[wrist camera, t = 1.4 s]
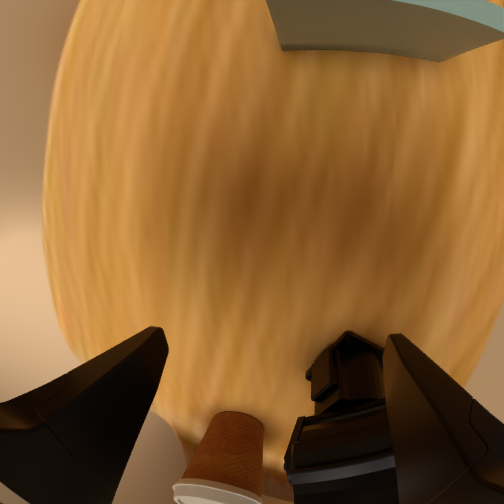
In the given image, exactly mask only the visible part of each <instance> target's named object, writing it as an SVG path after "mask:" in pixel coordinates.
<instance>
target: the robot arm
mask: <svg viewBox="0 0 504 504" xmlns="http://www.w3.org/2000/svg"><path fill="white" fill-rule="evenodd" d="M347 337H350V338H349V339H346V338H347ZM168 352H169V347H168V343H167V340H166V337H165V334H164V331H163V329H162V328H161V327H154V326H150V327H148V328H146V329H144V330H143V331H141V332H139V333H137V334H136V335H134V336H132V337H130V338H128V339H127V340H125V341H123V342H121V343H120V344H118V345H116V346H114V347H112V348H111V349H109V350H107V351H105V352H104V353H102V354H100V355H98V356H96V357H95V358H93V359H91V360H89V361H87V362H86V363H84V364H82V365H80V366H78V367H77V368H75V369H73V370H71V371H69V372H68V373H67V374H64V375H62V376H60V377H59V378H56V379H55V380H53V381H51V382H49V383H47V384H45V385H43V386H41V387H39V388H36V389H34V390H32V391H29V392H27V393H25V394H23V395H20V396H18V397H16V398H13V399H11V400H9V401H6V402H2V403H0V504H112V501H113V499H114V496H115V492H116V490H117V488H118V485H119V483H120V480H121V478H122V475H123V473H124V470H125V467H126V465H127V462H128V460H129V457H130V455H131V452H132V450H133V448H134V445H135V442H136V440H137V438H138V435H139V433H140V430H141V428H142V426H143V423H144V421H145V418H146V416H147V414H148V411H149V409H150V406H151V404H152V402H153V399H154V397H155V395H156V392H157V389H158V386H159V383H160V379H161V376H162V373H163V369H164V366H165V363H166V359H167V356H168ZM310 375H312V376H310ZM306 379H307V380H308V381H311V399H312V401H314V402H315V414H314V415H313V416H308V417H305V416H302V417H298V419H297V422H296V425H295V427H294V430H293V433H292V436H291V439H290V442H289V445H288V448H287V451H286V454H285V456H284V461H285V463H284V470H285V471H286V473H287V477H288V481H289V483H290V484H291V486H292V487H293V490H294V504H504V424H503V423H502V422H501V421H500V420H498V419H497V418H496V417H495V416H493V415H492V414H491V413H489V411H488V410H487V409H485V408H484V407H483V406H482V405H481V404H480V403H479V402H478V401H477V400H476V399H473V397H472V396H471V395H470V394H469V393H468V392H467V391H466V390H465V389H464V388H462V387H461V386H460V385H459V384H458V383H457V382H456V381H455V380H454V379H453V378H451V377H450V376H449V375H448V374H447V373H446V372H445V371H444V370H443V369H441V368H440V367H439V366H438V365H437V364H436V363H435V362H434V361H433V360H431V359H430V358H429V357H428V356H427V355H426V354H425V353H423V352H422V351H421V350H420V349H419V348H418V347H417V346H415V345H414V344H413V343H412V342H411V341H410V340H409V339H407V338H406V337H405V336H404V335H403V334H390V335H388V337H387V341H386V345H385V349H383V348H381V347H379V346H377V345H375V344H373V343H371V342H369V341H367V340H365V339H363V338H361V337H359V336H358V335H356V334H354V333H352V332H346V333H344V334H343V335H342V336H341V337H340V338H339V339H338V341H337V342H336V343H335V344H334V345H333V346H332V347H331V348H329V349H327V350H326V351H325V352H324V353H323V354H322V355H321V357H320V358H319V359H318V360H317V361H316V362H315V363H314V364H313V365H312V367H311V368H310V369H309V370H308V371H307V372H306Z"/></svg>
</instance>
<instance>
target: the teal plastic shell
mask: <svg viewBox="0 0 504 504" xmlns="http://www.w3.org/2000/svg"><path fill="white" fill-rule="evenodd" d="M266 2H267V5H268V8H269V11H270V14H271V17H272V20H273V23H274V26H275V29H276V32H277V36H278V39H279V42H280V45H281V49H282V51H289V50H344V51H362V52H374V53H384V54H392V55H400V56H407V57H413V58H419V59H425V60H430V61H435V62H442V61H444V60H447V59H449V58H452V57H454V56H457V55H459V54H462V53H465V52H467V51H470V50H473V49H475V48H478V47H481V46H484V45H487V44H490V43H493V42H496V41H499V40H502V39H504V8H502V7H500V6H497V5H495V4H493V3H491V2H488V1H486V0H266Z"/></svg>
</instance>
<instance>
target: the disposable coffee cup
mask: <svg viewBox="0 0 504 504" xmlns="http://www.w3.org/2000/svg"><path fill="white" fill-rule="evenodd" d="M263 430H264V428H263V425H262V424H261V423H260V422H259V421H258V420H257V419H255V418H253V417H251V416H249V415H246V414H242V413H238V412H222V413H219V414H216V415H215V416H214V417H213V419H212V421H211V423H210V425H209V427H208V429H207V431H206V433H205V435H204V437H203V438H202V440H201V442H200V444H199V446H198V448H197V450H196V452H195V454H194V456H193V457H192V459H191V461H190V463H189V465H188V467H187V469H186V470H185V472H184V475H183V476H182V478H181V479H180V480H178V482H177V483H176V484H174V486H173V490H174V500H175V501H176V502H177V503H178V504H263V500H262V498H261V488H262V460H263Z"/></svg>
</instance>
